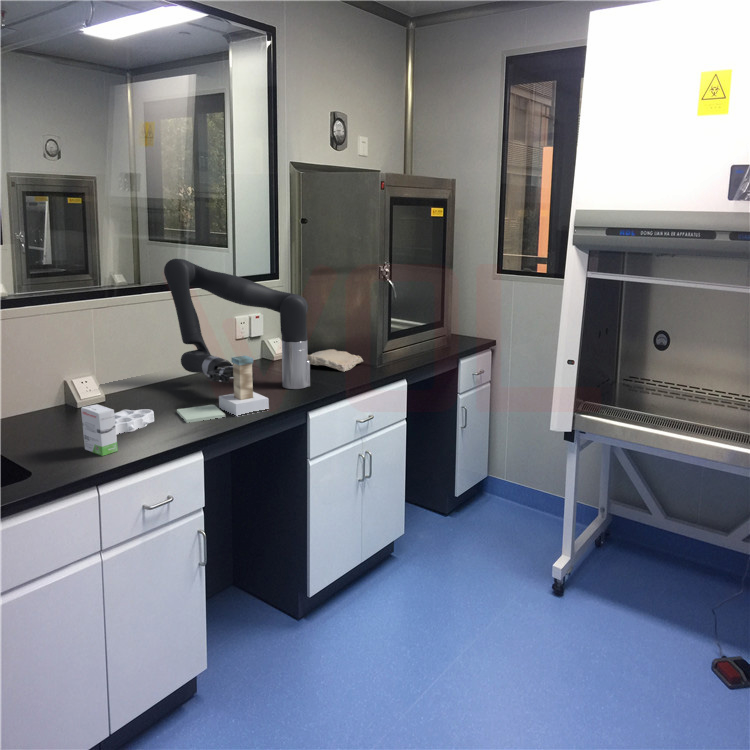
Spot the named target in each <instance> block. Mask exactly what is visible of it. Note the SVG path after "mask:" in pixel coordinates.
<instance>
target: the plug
mask: <svg viewBox="0 0 750 750" xmlns="http://www.w3.org/2000/svg"><path fill="white" fill-rule="evenodd" d="M230 359H231V361H230V362H231V364H232V365H233V378H232V379H233V380H232V381H233V394H234V398H237V399H239V400H244V399H250V398H253V392H254V389H253V388H254V386H253V381H254V379H252V373H253V364H254V358H253V357H251V356H248V355H241V356H240V355H239V356H233V357H232V356H231V357H230Z"/></svg>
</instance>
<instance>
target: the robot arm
mask: <svg viewBox="0 0 750 750" xmlns="http://www.w3.org/2000/svg"><path fill="white" fill-rule="evenodd" d="M163 275H164V277H165V280H166V283H167V286H168V288H169V290H170V293H171V296H172V300H173V303H174V307H175V311H176V315H177V321H178V326H179V331H180V336H181V341H182V343H183V344H185V345H194V346H195V347H196V349H195V350H194V349H193V350H189V351H186V352H184V353H182V355H181V358H180V365H181V366H182V368H183V369H184V370H185V371H187V372H189V373H195V374H196V373H197V374H203V375H205V376H206V379H207V380H209V381H210V382H213V383H216V382H221V383H222V382H223V383H226V384H229V383H230V379H233V363H232V362H231V361H229V360H227V359H224V358H222V357H219V356H214V355H212V354H211V352H210V350H209V348H208V347H207V344H206V342H205V339H204V337H203V333H202V328H201V324H200V320H199V316H198V314H197V313H198V312H197V310H196V309H195V305H194V303H193V299H192V296H191V290H190V289H191V287H192V288H196V289H201V290H204V291H206V292H208V293H211V294H213V295H214V296H216V297H218V298H221V299H223V300H226V301H229V302H230V303H235V304H238V305H240V306H241V305H242V306H246V307H253V308H263V309H268V310H271V311H275V312H277V313H279V316H280V317H279V320H280V322H279V323H280V334H281V364H282V365H281V367H282V368H281V369H282V370H281V372H282V374H281V375H282V377H281V378H282V379H281V381H282V387H283V388H285V389H290V390H300V389H304V388H305V389H306V388H308V387H311V364H310V361H309V360H308V355H309V354H308V348H309V347H308V328H307V314H308V310H309V304H308V301H307V300H306V298H305V297H303V296H302V295H299V294H295V293H291V292H286V291H281V290H276V289H273V288H270V287H268V286H266V285H263V284H260V283H257V282H255V281H252V280H249V279H247V278H243V277H240V276H237V275H235V274H234V275H233V274H230V273H225V272H220V271H216V270H210V269H207V268H204V267H203V266H200V265H198V264H195V263H193V262H191V261H189V260H187V259H183V258H172V259H169V261H167V262H166V263H165V265H164V268H163ZM254 378H255V377H254V373H253V372H252V380H254Z"/></svg>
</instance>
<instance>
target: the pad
mask: <svg viewBox="0 0 750 750" xmlns="http://www.w3.org/2000/svg"><path fill="white" fill-rule="evenodd" d="M176 413H177V414H178V415H179V416H180V417H181V419H182V418H183V419H184V420H183V421H184V422H185V423H186V424H190V423H196V422H202V421H203V420H204V421H209V420H210V419H211V420H216V419H215V418H218V419H223V418H222V417H225V418H226V413H225V412H223V411H222V409H220V408H219V407H218V406H216V405H215V404H208V405H201V406H200V405H199V406H192V407H185V408H178V409H176ZM211 420H210V421H211ZM189 422H190V423H189Z"/></svg>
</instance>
